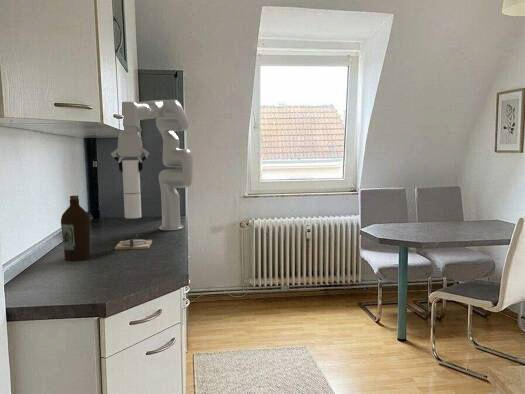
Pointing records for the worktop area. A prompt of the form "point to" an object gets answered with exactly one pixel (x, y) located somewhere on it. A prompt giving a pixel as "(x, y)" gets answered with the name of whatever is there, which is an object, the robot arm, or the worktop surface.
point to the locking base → (134, 244)
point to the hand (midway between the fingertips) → (131, 171)
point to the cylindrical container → (131, 188)
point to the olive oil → (76, 231)
